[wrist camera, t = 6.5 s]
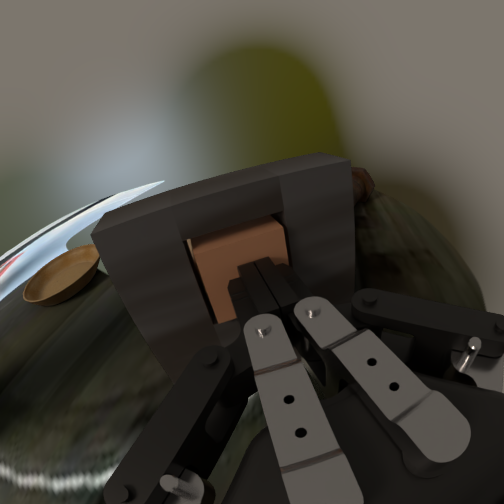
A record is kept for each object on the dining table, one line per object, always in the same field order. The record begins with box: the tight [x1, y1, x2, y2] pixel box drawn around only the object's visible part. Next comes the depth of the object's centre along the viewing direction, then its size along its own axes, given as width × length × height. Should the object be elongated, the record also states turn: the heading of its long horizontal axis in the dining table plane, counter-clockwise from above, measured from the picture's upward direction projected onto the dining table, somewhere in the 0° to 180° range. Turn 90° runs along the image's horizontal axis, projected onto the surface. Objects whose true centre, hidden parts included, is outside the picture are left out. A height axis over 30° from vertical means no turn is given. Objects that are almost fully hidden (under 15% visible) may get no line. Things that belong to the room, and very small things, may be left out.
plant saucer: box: [23, 244, 100, 306], centre depth 33 cm, size 15×15×3 cm
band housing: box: [91, 152, 355, 384], centre depth 21 cm, size 16×12×12 cm
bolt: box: [351, 167, 375, 206], centre depth 33 cm, size 6×5×15 cm
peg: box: [191, 215, 289, 323], centre depth 18 cm, size 13×4×4 cm, turn 17°
